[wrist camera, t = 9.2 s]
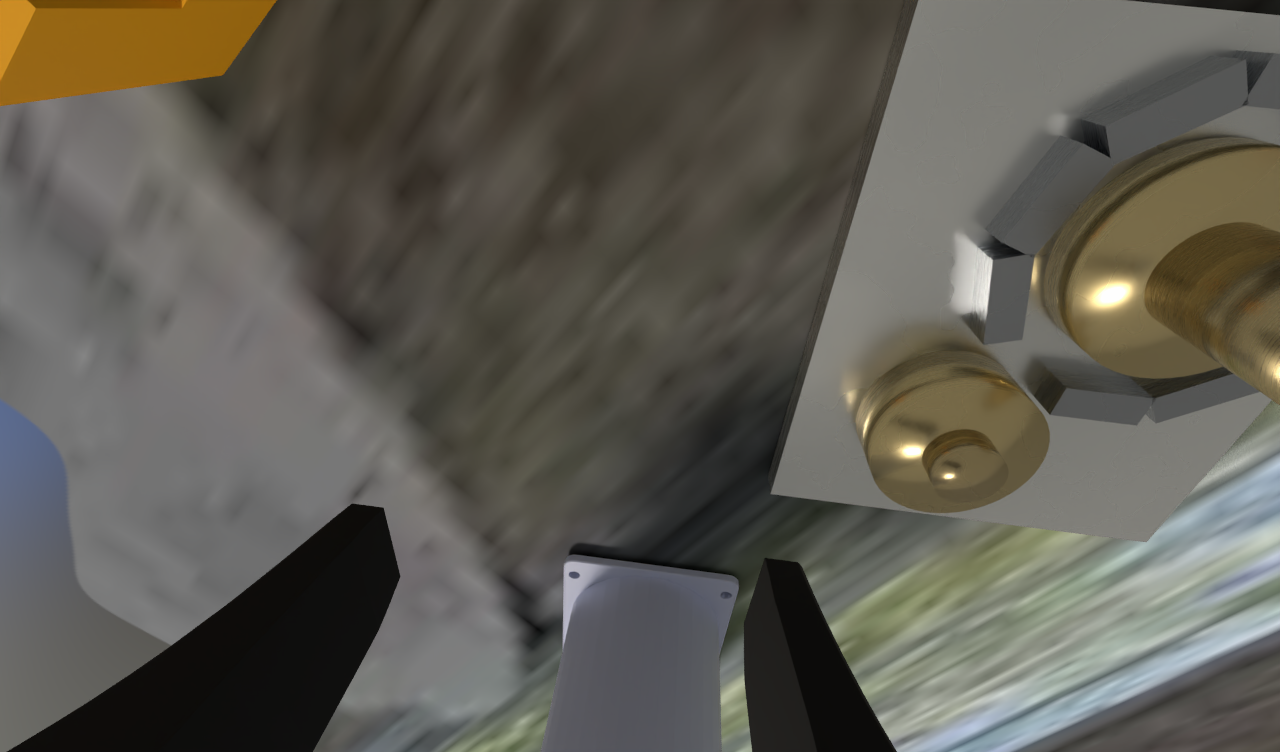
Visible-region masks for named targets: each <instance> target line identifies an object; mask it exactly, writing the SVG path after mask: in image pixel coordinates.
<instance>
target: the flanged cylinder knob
mask: <svg viewBox="0 0 1280 752" xmlns="http://www.w3.org/2000/svg"><path fill="white" fill-rule="evenodd" d="M1044 297H1045V302H1046V306H1047V309H1048V311H1049V314H1050V316H1051V318H1052V319H1053V321H1054V323H1055V324H1056V325H1057V326H1058V327H1059V328H1060V330H1061V331H1062V332H1063V333H1064V334H1066V335H1067V336H1068V337H1069V338H1070V339H1071V340H1072V341H1073V342H1075V343H1076V344H1077V345H1078V346H1079V347H1080V348H1081V349H1082V350H1083V351H1085V352H1086V353H1087V354H1088V355H1089V356H1090V357H1091V358H1092V359H1094V360H1095V361H1097V362H1098V363H1099V364H1101V365H1102V366H1104V367H1106V368H1108V369H1110V370H1112V371H1115V372H1118V373H1121V374H1124V375H1128V376H1134V377H1139V378H1153V379H1157V378H1175V377H1183V376H1189V375H1194V374H1198V373H1203V372H1207V371H1210V370H1213V369H1217V368H1220V367H1225V368H1226V369H1228V370H1229V371H1230V372H1232V373H1233V374H1235V375H1236V376H1238V377H1239V378H1241V379H1242V380H1244V381H1245V382H1247V383H1248V384H1249V385H1251V386H1252V387H1254V388H1255V389H1257V390H1258V391H1260V392H1261V393H1263V394H1264V395H1266V396H1267V397H1268V398H1270V399H1271V400H1273V401H1274V402H1276V403H1277V404H1279V405H1280V145H1277V144H1273V143H1268V142H1264V141H1260V140H1254V139H1249V138H1239V137H1222V138H1210V139H1205V140H1200V141H1195V142H1190V143H1187V144H1183V145H1180V146H1177V147H1173V148H1171V149H1168V150H1166V151H1163V152H1161V153H1158V154H1156V155H1154V156H1151V157H1149V158H1148V159H1146V160H1144V161H1142V162H1140V163H1138V164H1136V165H1134V166H1133V167H1131V168H1129V169H1128V170H1126V171H1125V172H1123V173H1122V174H1120V175H1118V176H1117V177H1116V178H1114V179H1113V180H1112V181H1110V182H1109V183H1108V184H1106V185H1105V186H1104V187H1102V188H1101V189H1100V190H1099V191H1098V192H1097V193H1096V194H1095V195H1094V196H1092V197H1091V198H1090V199H1089V200H1088V201H1087V202H1086V203H1085V204H1084V205H1083V206H1082V208H1081V209H1080V210H1079V211H1078V212H1077V213H1076V214H1075V215H1074V217H1073V218H1072V219H1071V221H1070V222H1069V223H1068V225H1067V226H1066V227H1065V229H1064V230H1063V232H1062V234H1061V235H1060V237H1059V239H1058V240H1057V242H1056V244H1055V246H1054V248H1053V251H1052V253H1051V255H1050V258H1049V261H1048V264H1047V268H1046V272H1045V279H1044Z"/></svg>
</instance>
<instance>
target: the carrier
mask: <svg viewBox="0 0 1280 752" xmlns="http://www.w3.org/2000/svg"><path fill="white" fill-rule="evenodd" d="M1222 137H1239V138H1249V139H1254V140H1260V141H1264V142H1268V143H1273V144H1277V145H1280V15H1271V14H1261V13H1250V12H1240V11H1230V10H1220V9H1210V8H1199V7H1189V6H1179V5H1169V4H1159V3H1148V2H1138V1H1128V0H905V3H904V6H903V10H902V13H901V17H900V20H899V24H898V27H897V30H896V34H895V37H894V41H893V44H892V48H891V51H890V55H889V58H888V62H887V65H886V69H885V72H884V76H883V79H882V82H881V86H880V89H879V93H878V96H877V100H876V103H875V107H874V110H873V114H872V117H871V121H870V124H869V127H868V131H867V134H866V138H865V141H864V145H863V148H862V152H861V155H860V159H859V162H858V166H857V169H856V173H855V176H854V179H853V183H852V186H851V190H850V193H849V197H848V200H847V204H846V207H845V211H844V214H843V218H842V221H841V224H840V228H839V231H838V235H837V238H836V242H835V245H834V249H833V252H832V256H831V259H830V263H829V266H828V270H827V273H826V276H825V280H824V283H823V287H822V290H821V294H820V297H819V301H818V304H817V308H816V311H815V315H814V318H813V321H812V325H811V328H810V332H809V335H808V339H807V342H806V346H805V349H804V353H803V356H802V360H801V363H800V367H799V370H798V373H797V377H796V380H795V384H794V387H793V391H792V394H791V398H790V401H789V405H788V408H787V412H786V415H785V419H784V422H783V425H782V429H781V432H780V436H779V439H778V443H777V446H776V450H775V453H774V457H773V460H772V464H771V467H770V470H769V474H768V479H769V487H770V494H774V495H782V496H790V497H798V498H805V499H813V500H821V501H829V502H837V503H844V504H852V505H860V506H868V507H876V508H883V509H891V510H899V511H907V512H915V513H922V514H930V515H938V516H946V517H954V518H961V519H969V520H977V521H985V522H993V523H1001V524H1008V525H1016V526H1024V527H1032V528H1040V529H1047V530H1055V531H1063V532H1071V533H1079V534H1086V535H1094V536H1102V537H1110V538H1118V539H1125V540H1133V541H1141V542H1147V541H1148V540H1149V539H1150V537H1151V536H1152V535H1153V534H1154V533H1155V532H1156V531H1157V530H1158V528H1159V527H1160V526H1161V525H1162V524H1163V523H1164V522H1165V520H1166V519H1167V518H1168V517H1169V516H1170V515H1171V514H1172V513H1173V511H1174V510H1175V509H1176V508H1177V507H1178V506H1179V505H1180V504H1181V502H1182V501H1183V500H1184V499H1185V498H1186V497H1187V496H1188V494H1189V493H1190V492H1191V491H1192V490H1193V489H1194V488H1195V487H1196V485H1197V484H1198V483H1199V482H1200V481H1201V480H1202V479H1203V477H1204V476H1205V475H1206V474H1207V473H1208V472H1209V471H1210V470H1211V468H1212V467H1213V466H1214V465H1215V464H1216V463H1217V462H1218V460H1219V459H1220V458H1221V457H1222V456H1223V455H1224V454H1225V453H1226V451H1227V450H1228V449H1229V448H1230V447H1231V446H1232V445H1233V443H1234V442H1235V441H1236V440H1237V439H1238V438H1239V437H1240V436H1241V434H1242V433H1243V432H1244V431H1245V430H1246V429H1247V428H1248V426H1249V425H1250V424H1251V423H1252V422H1253V421H1254V420H1255V419H1256V417H1257V416H1258V415H1259V414H1260V413H1261V412H1262V411H1263V410H1264V408H1265V407H1266V406H1267V405H1268V404H1269V403H1270V402H1271V399H1270V398H1268V397H1267V396H1266V395H1264V394H1263V393H1261V392H1260V391H1258V390H1257V389H1255V388H1254V387H1252V386H1251V385H1249V384H1248V383H1247V382H1245V381H1244V380H1242V379H1241V378H1239V377H1238V376H1236V375H1235V374H1233V373H1232V372H1230V371H1229V370H1228V369H1226V368H1225V367H1220V368H1217V369H1213V370H1210V371H1207V372H1203V373H1198V374H1194V375H1189V376H1183V377H1175V378H1157V379H1153V378H1139V377H1134V376H1128V375H1124V374H1121V373H1118V372H1115V371H1112V370H1110V369H1108V368H1106V367H1104V366H1102V365H1101V364H1099V363H1098V362H1097V361H1095V360H1094V359H1092V358H1091V357H1090V356H1089V355H1088V354H1087V353H1086V352H1085V351H1083V350H1082V349H1081V348H1080V347H1079V346H1078V345H1077V344H1076V343H1075V342H1073V341H1072V340H1071V339H1070V338H1069V337H1068V336H1067V335H1066V334H1064V333H1063V332H1062V331H1061V330H1060V328H1059V327H1058V326H1057V325H1056V324H1055V323H1054V321H1053V319H1052V318H1051V316H1050V314H1049V311H1048V309H1047V306H1046V302H1045V297H1044V279H1045V272H1046V268H1047V264H1048V261H1049V258H1050V255H1051V253H1052V251H1053V248H1054V246H1055V244H1056V242H1057V240H1058V239H1059V237H1060V235H1061V234H1062V232H1063V230H1064V229H1065V227H1066V226H1067V225H1068V223H1069V222H1070V221H1071V219H1072V218H1073V217H1074V215H1075V214H1076V213H1077V212H1078V211H1079V210H1080V209H1081V208H1082V206H1083V205H1084V204H1085V203H1086V202H1087V201H1088V200H1089V199H1090V198H1091V197H1092V196H1094V195H1095V194H1096V193H1097V192H1098V191H1099V190H1100V189H1101V188H1102V187H1104V186H1105V185H1106V184H1108V183H1109V182H1110V181H1112V180H1113V179H1114V178H1116V177H1117V176H1118V175H1120V174H1122V173H1123V172H1125V171H1126V170H1128V169H1129V168H1131V167H1133V166H1134V165H1136V164H1138V163H1140V162H1142V161H1144V160H1146V159H1148V158H1149V157H1151V156H1154V155H1156V154H1158V153H1161V152H1163V151H1166V150H1168V149H1171V148H1173V147H1177V146H1180V145H1183V144H1187V143H1190V142H1195V141H1200V140H1205V139H1210V138H1222Z"/></svg>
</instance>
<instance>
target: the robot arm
mask: <svg viewBox="0 0 1280 752" xmlns="http://www.w3.org/2000/svg"><path fill="white" fill-rule="evenodd" d="M399 578H400V573H399V569H398V565H397V561H396V557H395V553H394V549H393V545H392V541H391V536H390V532H389V528H388V524H387V520H386V516H385V512H384V508H381V507H374V506H366V505H359V504H351V505H350V506H348V507H347V508H346V509H345V510H343V511H342V512H341V513H340V514H338V515H337V516H336V517H335V518H333V519H332V520H331V521H330V522H329V523H327V524H326V525H325V526H324V527H322V528H321V529H320V530H319V531H318V532H316V533H315V534H314V535H313V536H312V537H310V538H309V539H308V540H307V541H306V542H304V543H303V544H302V545H301V546H299V547H298V548H297V549H296V550H295V551H293V552H292V553H291V554H290V555H288V556H287V557H286V558H285V559H284V560H282V561H281V562H280V563H279V564H277V565H276V566H275V567H274V568H272V569H271V570H270V571H269V572H267V573H266V574H265V575H264V576H262V577H261V578H260V579H259V580H257V581H256V582H255V583H254V584H252V585H251V586H250V587H249V588H247V589H246V590H245V591H243V592H242V593H241V594H240V595H238V596H237V597H236V598H235V599H233V600H232V601H231V602H229V603H228V604H227V605H226V606H224V607H223V608H222V609H220V610H219V611H218V612H216V613H215V614H214V615H212V616H211V617H209V618H208V619H207V620H205V621H204V622H203V623H201V624H200V625H199V626H197V627H196V628H195V629H193V630H192V631H191V632H189V633H188V634H187V635H185V636H184V637H182V638H181V639H180V640H178V641H177V642H176V643H174V644H173V645H172V646H170V647H169V648H167V649H166V650H165V651H163V652H162V653H160V654H159V655H157V656H156V657H155V658H153V659H152V660H150V661H149V662H147V663H146V664H145V665H143V666H142V667H140V668H139V669H137V670H136V671H134V672H133V673H132V674H130V675H129V676H127V677H125V678H124V679H122V680H121V681H119V682H118V683H116V684H115V685H113V686H112V687H110V688H109V689H107V690H106V691H104V692H103V693H101V694H100V695H98V696H97V697H95V698H94V699H92V700H91V701H89V702H88V703H86V704H84V705H83V706H81V707H80V708H78V709H76V710H75V711H73V712H72V713H70V714H68V715H67V716H65V717H63V718H62V719H60V720H59V721H57V722H56V723H54V724H52V725H51V726H49V727H47V728H46V729H44V730H42V731H41V732H39V733H37V734H36V735H34V736H32V737H31V738H29V739H27V740H26V741H24V742H22V743H21V744H19V745H17V746H16V747H14V748H12V749H11V750H9V751H7V752H313V750H314V749H315V747H316V745H317V743H318V741H319V739H320V738H321V736H322V734H323V732H324V730H325V728H326V727H327V725H328V723H329V721H330V719H331V717H332V716H333V714H334V712H335V710H336V708H337V706H338V705H339V703H340V701H341V699H342V697H343V695H344V694H345V692H346V690H347V688H348V686H349V684H350V683H351V681H352V679H353V677H354V675H355V673H356V672H357V670H358V668H359V666H360V664H361V662H362V660H363V659H364V657H365V655H366V653H367V651H368V649H369V647H370V646H371V644H372V642H373V640H374V638H375V636H376V634H377V632H378V630H379V628H380V626H381V623H382V621H383V619H384V616H385V614H386V611H387V609H388V607H389V604H390V602H391V599H392V596H393V594H394V591H395V589H396V586H397V584H398V581H399ZM738 590H739V582H738V579H737V578H736V577H734V576H731V575H726V574H719V573H711V572H703V571H696V570H688V569H681V568H673V567H666V566H658V565H651V564H643V563H636V562H628V561H621V560H613V559H606V558H598V557H591V556H583V555H569V556H568V557H566V559H565V563H564V593H563V652H562V657H561V661H560V666H559V671H558V675H557V680H556V684H555V689H554V693H553V698H552V703H551V707H550V712H549V716H548V721H547V726H546V730H545V735H544V739H543V744H542V748H541V752H722V744H721V705H720V665H719V655H720V652H721V648H722V645H723V641H724V638H725V635H726V631H727V628H728V624H729V621H730V618H731V614H732V611H733V607H734V604H735V601H736V597H737V594H738ZM744 675H745V689H746V699H747V708H748V717H749V726H750V735H751V744H752V752H897V751H896V750H895V748H894V746H893V745H892V743H891V741H890V740H889V738H888V736H887V734H886V733H885V731H884V729H883V728H882V726H881V724H880V723H879V721H878V719H877V717H876V716H875V714H874V712H873V710H872V708H871V707H870V705H869V703H868V701H867V699H866V698H865V696H864V694H863V692H862V690H861V688H860V686H859V685H858V683H857V681H856V679H855V677H854V675H853V673H852V671H851V669H850V668H849V666H848V664H847V662H846V660H845V658H844V656H843V654H842V652H841V650H840V648H839V646H838V644H837V642H836V640H835V638H834V636H833V634H832V632H831V630H830V628H829V626H828V624H827V622H826V620H825V618H824V616H823V613H822V611H821V609H820V607H819V605H818V603H817V600H816V598H815V596H814V594H813V591H812V589H811V587H810V585H809V582H808V580H807V578H806V575H805V573H804V570H803V568H802V567H801V565H800V564H799V563H798V562H791V561H784V560H776V559H768V558H765V559H764V562H763V565H762V568H761V572H760V575H759V578H758V581H757V584H756V587H755V590H754V593H753V597H752V600H751V603H750V606H749V609H748V612H747V615H746V618H745V622H744Z"/></svg>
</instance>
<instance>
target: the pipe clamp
mask: <svg viewBox="0 0 1280 752" xmlns="http://www.w3.org/2000/svg"><path fill="white" fill-rule="evenodd" d="M276 1H277V0H0V106H4V105H12V104H19V103H26V102H33V101H40V100H48V99H55V98H62V97H69V96H77V95H84V94H91V93H98V92H105V91H113V90H120V89H127V88H134V87H142V86H149V85H156V84H163V83H170V82H178V81H185V80H192V79H199V78H207V77H214V76H221V75H223V74H224V73H225V71H226V70H227V69H228V67H229V66H230V65H231V63H232V62H233V60H234V59H235V58H236V56H237V55H238V53H239V52H240V51H241V49H242V48H243V46H244V45H245V44H246V42H247V41H248V39H249V38H250V37H251V35H252V34H253V33H254V31H255V30H256V28H257V27H258V26H259V24H260V23H261V21H262V20H263V19H264V17H265V16H266V14H267V13H268V12H269V10H270V9H271V8H272V6H273V5H274V3H275V2H276Z"/></svg>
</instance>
